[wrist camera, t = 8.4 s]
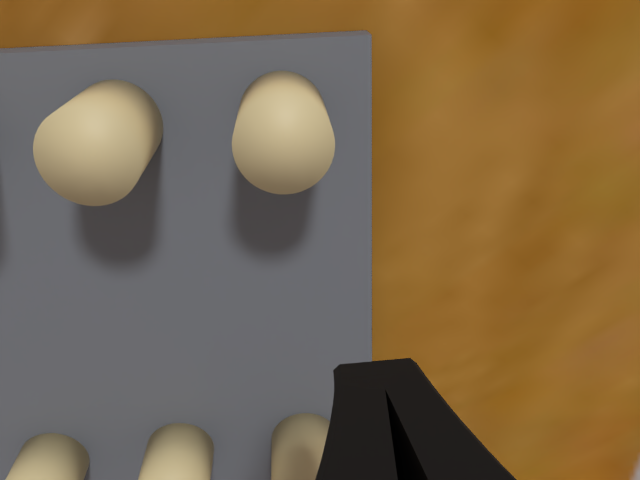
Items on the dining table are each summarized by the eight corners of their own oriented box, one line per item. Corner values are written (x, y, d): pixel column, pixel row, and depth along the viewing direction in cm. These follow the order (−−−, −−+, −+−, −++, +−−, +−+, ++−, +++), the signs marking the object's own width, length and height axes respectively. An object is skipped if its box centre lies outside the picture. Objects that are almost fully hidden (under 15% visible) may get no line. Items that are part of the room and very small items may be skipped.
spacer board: (368, 452, 24) (385, 542, 20) (-176, 496, 23) (-261, 599, 19) (366, 30, 17) (391, 51, 13) (-422, 69, 16) (-629, 103, 12)
